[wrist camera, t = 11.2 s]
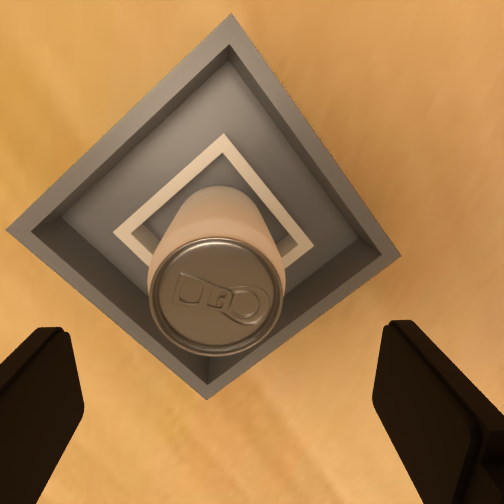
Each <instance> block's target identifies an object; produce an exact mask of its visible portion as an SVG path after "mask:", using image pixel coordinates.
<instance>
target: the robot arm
mask: <svg viewBox="0 0 504 504" xmlns="http://www.w3.org/2000/svg"><path fill="white" fill-rule="evenodd" d="M372 401H373V405H374V408H375V410H376V412H377V414H378V416H379V418H380V420H381V422H382V424H383V426H384V428H385V430H386V432H387V433H388V435H389V437H390V439H391V441H392V443H393V445H394V447H395V449H396V451H397V453H398V455H399V457H400V459H401V461H402V463H403V464H404V466H405V468H406V470H407V472H408V474H409V476H410V478H411V480H412V482H413V484H414V486H415V488H416V490H417V492H418V494H419V495H420V497H421V499H422V501H423V503H424V504H504V415H503V414H502V413H501V412H500V411H499V410H498V409H497V408H496V407H495V406H494V405H493V404H492V403H491V402H490V401H489V400H488V399H487V398H486V397H485V395H484V394H483V393H482V392H481V391H480V390H479V389H478V388H477V387H476V386H475V385H474V384H473V383H472V382H471V381H470V380H469V379H468V378H467V377H466V376H465V375H464V374H463V373H462V372H461V371H460V370H459V369H458V367H457V366H456V365H455V364H454V363H453V362H452V361H451V360H450V359H449V358H448V357H447V356H446V355H445V354H444V353H443V352H442V351H441V350H440V349H439V348H438V347H437V346H436V345H435V344H434V343H433V342H432V341H431V339H430V338H429V337H428V336H427V335H426V334H425V333H424V332H423V331H422V330H421V329H420V328H419V327H418V326H417V325H416V324H415V323H414V322H413V321H412V320H392V321H390V323H389V325H386V326H384V328H383V333H382V339H381V345H380V351H379V357H378V363H377V369H376V376H375V382H374V388H373V394H372ZM83 413H84V401H83V396H82V391H81V386H80V382H79V377H78V372H77V367H76V362H75V357H74V352H73V347H72V343H71V338H70V334H69V333H68V332H64V330H63V329H62V328H61V327H40V328H37V329H36V330H35V331H34V332H33V333H32V334H31V335H30V336H29V337H28V338H27V339H26V340H25V341H24V342H23V343H22V344H20V345H19V346H18V347H17V348H16V349H15V350H14V351H13V352H12V353H11V354H10V355H9V356H8V357H7V358H6V359H5V360H4V361H3V362H2V363H1V364H0V504H36V503H37V501H38V499H39V497H40V495H41V493H42V492H43V490H44V488H45V486H46V484H47V482H48V480H49V479H50V477H51V475H52V473H53V471H54V469H55V467H56V465H57V464H58V462H59V460H60V458H61V456H62V454H63V452H64V451H65V449H66V447H67V445H68V443H69V441H70V439H71V438H72V436H73V434H74V432H75V430H76V428H77V426H78V425H79V423H80V421H81V419H82V417H83Z"/></svg>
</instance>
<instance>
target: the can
mask: <svg viewBox="0 0 504 504" xmlns="http://www.w3.org/2000/svg"><path fill="white" fill-rule="evenodd" d="M285 284H286V278H285V270H284V265H283V261H282V259H281V256H280V253H279V251H278V249H277V247H276V244H275V242H274V240H273V238H272V236H271V234H270V232H269V230H268V228H267V226H266V224H265V222H264V220H263V218H262V216H261V214H260V212H259V210H258V208H257V206H256V205H255V203H254V202H253V201H252V200H251V199H250V198H249V197H248V196H247V195H246V194H244V193H243V192H241V191H239V190H237V189H235V188H232V187H228V186H221V185H217V186H209V187H206V188H203V189H200V190H198V191H197V192H195V193H193V194H192V195H191V196H190V197H189V198H188V199H187V200H186V201H185V202H184V203H183V205H182V206H181V208H180V209H179V211H178V212H177V214H176V216H175V217H174V219H173V221H172V222H171V224H170V226H169V227H168V229H167V231H166V233H165V234H164V236H163V238H162V239H161V241H160V243H159V245H158V247H157V248H156V250H155V252H154V255H153V257H152V259H151V262H150V266H149V270H148V278H147V285H148V293H149V305H150V310H151V313H152V316H153V319H154V321H155V323H156V325H157V326H158V328H159V329H160V331H161V332H162V333H163V334H164V335H165V336H166V337H167V338H168V339H169V340H170V341H171V342H172V343H174V344H175V345H177V346H178V347H180V348H182V349H184V350H186V351H188V352H191V353H194V354H198V355H202V356H211V357H221V356H229V355H233V354H237V353H240V352H243V351H245V350H247V349H249V348H251V347H253V346H255V345H256V344H258V343H259V342H260V341H261V340H263V339H264V338H265V337H266V336H267V335H268V334H269V332H270V331H271V330H272V329H273V327H274V326H275V324H276V322H277V320H278V318H279V316H280V313H281V309H282V304H283V296H284V292H285Z"/></svg>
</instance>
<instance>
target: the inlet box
mask: <svg viewBox="0 0 504 504" xmlns="http://www.w3.org/2000/svg"><path fill="white" fill-rule="evenodd" d="M217 185H221V186H228V187H232V188H235V189H237V190H239V191H241V192H243V193H244V194H246V195H247V196H248V197H249V198H250V199H251V200H252V201H253V202H254V203H255V205H256V206H257V208H258V210H259V212H260V214H261V216H262V218H263V220H264V222H265V224H266V226H267V228H268V230H269V232H270V234H271V236H272V238H273V240H274V242H275V244H276V247H277V249H278V251H279V253H280V256H281V259H282V261H283V265H284V270H285V278H286V284H285V292H284V296H283V304H282V309H281V313H280V316H279V318H278V320H277V322H276V324H275V326H274V327H273V329H272V330H271V331H270V332H269V334H268V335H267V336H266V337H265V338H264V339H263V340H261V341H260V342H259V343H258V344H256V345H255V346H253V347H251V348H249V349H247V350H245V351H243V352H240V353H237V354H233V355H229V356H221V357H211V356H202V355H198V354H194V353H191V352H188V351H186V350H184V349H182V348H180V347H178V346H177V345H175V344H174V343H172V342H171V341H170V340H169V339H168V338H167V337H166V336H165V335H164V334H163V333H162V332H161V331H160V329H159V328H158V326H157V325H156V323H155V321H154V319H153V316H152V313H151V310H150V305H149V293H148V285H147V278H148V270H149V266H150V262H151V259H152V257H153V255H154V252H155V250H156V248H157V247H158V245H159V243H160V241H161V239H162V238H163V236H164V234H165V233H166V231H167V229H168V227H169V226H170V224H171V222H172V221H173V219H174V217H175V216H176V214H177V212H178V211H179V209H180V208H181V206H182V205H183V203H184V202H185V201H186V200H187V199H188V198H189V197H190V196H191V195H192V194H193V193H195V192H197V191H198V190H200V189H203V188H206V187H209V186H217ZM6 231H7V232H9V233H10V234H11V235H12V236H13V237H14V238H16V239H17V240H18V241H19V242H20V243H22V244H23V245H24V246H25V247H26V248H27V249H29V250H30V251H31V252H32V253H33V254H34V255H36V256H37V257H38V258H39V259H40V260H42V261H43V262H44V263H45V264H46V265H47V266H49V267H50V268H51V269H52V270H53V271H55V272H56V273H57V274H58V275H59V276H60V277H62V278H63V279H64V280H65V281H66V282H68V283H69V284H70V285H71V286H72V287H73V288H75V289H76V290H77V291H78V292H79V293H81V294H82V295H83V296H84V297H85V298H86V299H88V300H89V301H90V302H91V303H92V304H93V305H95V306H96V307H97V308H98V309H99V310H101V311H102V312H103V313H104V314H105V315H106V316H108V317H109V318H110V319H111V320H112V321H114V322H115V323H116V324H117V325H118V326H119V327H121V328H122V329H123V330H124V331H125V332H127V333H128V334H129V335H130V336H131V337H132V338H134V339H135V340H136V341H137V342H138V343H140V344H141V345H142V346H143V347H144V348H145V349H147V350H148V351H149V352H150V353H151V354H152V355H154V356H155V357H156V358H157V359H158V360H160V361H161V362H162V363H163V364H164V365H165V366H167V367H168V368H169V369H170V370H171V371H173V372H174V373H175V374H176V375H177V376H178V377H180V378H181V379H182V380H183V381H184V382H186V383H187V384H188V385H189V386H190V387H191V388H193V389H194V390H195V391H196V392H197V393H199V394H200V395H201V396H202V397H203V398H204V399H206V400H208V399H209V398H210V397H212V396H213V395H214V394H216V393H217V392H218V391H220V390H221V389H222V388H224V387H225V386H227V385H228V384H229V383H231V382H232V381H233V380H235V379H236V378H237V377H239V376H240V375H241V374H243V373H244V372H245V371H247V370H248V369H249V368H251V367H252V366H254V365H255V364H256V363H258V362H259V361H260V360H262V359H263V358H264V357H266V356H267V355H268V354H270V353H271V352H272V351H274V350H275V349H276V348H278V347H279V346H281V345H282V344H283V343H285V342H286V341H287V340H289V339H290V338H291V337H293V336H294V335H295V334H297V333H298V332H299V331H301V330H302V329H304V328H305V327H306V326H308V325H309V324H310V323H312V322H313V321H314V320H316V319H317V318H318V317H320V316H321V315H322V314H324V313H325V312H326V311H328V310H329V309H331V308H332V307H333V306H335V305H336V304H337V303H339V302H340V301H341V300H343V299H344V298H345V297H347V296H348V295H349V294H351V293H352V292H353V291H355V290H356V289H358V288H359V287H360V286H362V285H363V284H364V283H366V282H367V281H368V280H370V279H371V278H372V277H374V276H375V275H376V274H378V273H379V272H380V271H382V270H383V269H385V268H386V267H387V266H389V265H390V264H391V263H393V262H394V261H395V260H397V259H398V258H399V257H401V254H400V253H399V252H398V250H397V249H396V247H395V246H394V244H393V243H392V242H391V240H390V239H389V237H388V236H387V234H386V233H385V232H384V230H383V229H382V227H381V226H380V224H379V223H378V222H377V220H376V219H375V217H374V216H373V214H372V213H371V212H370V210H369V209H368V207H367V206H366V204H365V203H364V202H363V200H362V199H361V197H360V196H359V194H358V193H357V192H356V190H355V189H354V187H353V186H352V184H351V183H350V182H349V180H348V179H347V177H346V176H345V174H344V173H343V172H342V170H341V169H340V167H339V166H338V164H337V163H336V162H335V160H334V159H333V157H332V156H331V154H330V153H329V152H328V150H327V149H326V147H325V146H324V144H323V143H322V142H321V140H320V139H319V137H318V136H317V134H316V133H315V132H314V130H313V129H312V127H311V126H310V124H309V123H308V122H307V120H306V119H305V117H304V116H303V114H302V113H301V112H300V110H299V109H298V107H297V106H296V104H295V103H294V102H293V100H292V99H291V97H290V96H289V94H288V93H287V92H286V90H285V89H284V87H283V86H282V84H281V83H280V82H279V80H278V79H277V77H276V76H275V74H274V73H273V72H272V70H271V69H270V67H269V66H268V64H267V63H266V61H265V60H264V59H263V57H262V56H261V54H260V53H259V51H258V50H257V49H256V47H255V46H254V44H253V43H252V41H251V40H250V39H249V37H248V36H247V34H246V33H245V31H244V30H243V29H242V27H241V26H240V24H239V23H238V21H237V20H236V19H235V17H234V16H233V14H232V13H231V14H230V15H229V16H228V17H227V18H226V19H225V20H223V21H222V22H221V23H220V24H219V25H218V26H217V27H216V28H215V29H214V30H213V31H212V32H211V33H210V34H209V35H208V36H207V37H206V38H205V39H204V40H203V41H202V42H201V43H200V44H199V45H197V46H196V47H195V48H194V49H193V50H192V51H191V52H190V53H189V54H188V55H187V56H186V57H185V58H184V59H183V60H182V61H181V62H180V63H179V64H178V65H177V66H176V67H175V68H174V69H172V70H171V71H170V72H169V73H168V74H167V75H166V76H165V77H164V78H163V79H162V80H161V81H160V82H159V83H158V84H157V85H156V86H155V87H154V88H153V89H152V90H151V91H150V92H149V93H148V94H146V95H145V96H144V97H143V98H142V99H141V100H140V101H139V102H138V103H137V104H136V105H135V106H134V107H133V108H132V109H131V110H130V111H129V112H128V113H127V114H126V115H125V116H124V117H123V118H122V119H120V120H119V121H118V122H117V123H116V124H115V125H114V126H113V127H112V128H111V129H110V130H109V131H108V132H107V133H106V134H105V135H104V136H103V137H102V138H101V139H100V140H99V141H98V142H97V143H95V144H94V145H93V146H92V147H91V148H90V149H89V150H88V151H87V152H86V153H85V154H84V155H83V156H82V157H81V158H80V159H79V160H78V161H77V162H76V163H75V164H74V165H73V166H72V167H71V168H69V169H68V170H67V171H66V172H65V173H64V174H63V175H62V176H61V177H60V178H59V179H58V180H57V181H56V182H55V183H54V184H53V185H52V186H51V187H50V188H49V189H48V190H47V191H46V192H45V193H43V194H42V195H41V196H40V197H39V198H38V199H37V200H36V201H35V202H34V203H33V204H32V205H31V206H30V207H29V208H28V209H27V210H26V211H25V212H24V213H23V214H22V215H21V216H20V217H18V218H17V219H16V220H15V221H14V222H13V223H12V224H11V225H10V226H9V227H8V228H7V229H6Z"/></svg>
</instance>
